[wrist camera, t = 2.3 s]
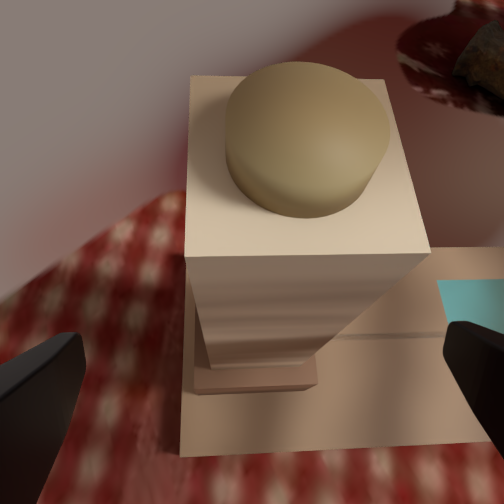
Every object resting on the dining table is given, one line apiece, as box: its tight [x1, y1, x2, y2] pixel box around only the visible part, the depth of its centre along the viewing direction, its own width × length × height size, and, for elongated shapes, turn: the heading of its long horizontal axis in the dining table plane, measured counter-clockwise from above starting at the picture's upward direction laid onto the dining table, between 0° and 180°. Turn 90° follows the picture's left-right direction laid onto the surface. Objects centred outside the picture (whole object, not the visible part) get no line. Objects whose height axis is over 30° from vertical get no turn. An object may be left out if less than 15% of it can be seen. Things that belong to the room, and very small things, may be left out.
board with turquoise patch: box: [180, 247, 504, 457], centre depth 20 cm, size 20×10×1 cm, turn 92°
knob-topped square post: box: [184, 62, 431, 395], centre depth 12 cm, size 5×5×15 cm
